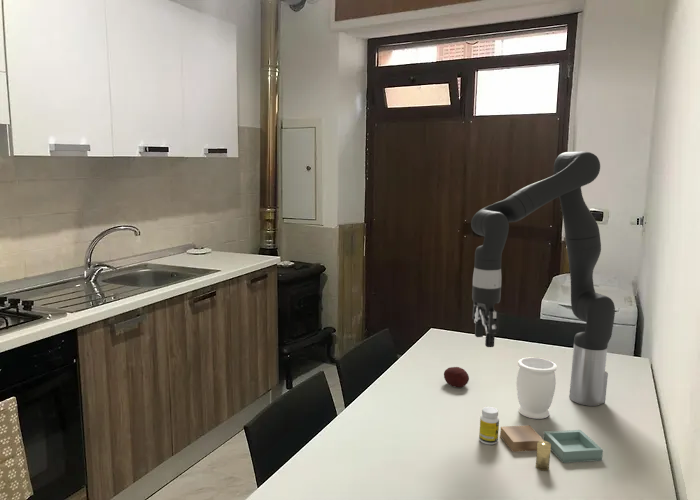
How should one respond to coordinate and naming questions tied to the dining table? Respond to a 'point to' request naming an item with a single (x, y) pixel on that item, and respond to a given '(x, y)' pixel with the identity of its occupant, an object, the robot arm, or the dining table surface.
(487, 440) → the supplement bottle
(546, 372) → the jar
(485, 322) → the robot arm
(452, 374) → the potato
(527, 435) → the brown wooden square block
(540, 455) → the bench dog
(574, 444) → the tray
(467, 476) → the dining table surface
